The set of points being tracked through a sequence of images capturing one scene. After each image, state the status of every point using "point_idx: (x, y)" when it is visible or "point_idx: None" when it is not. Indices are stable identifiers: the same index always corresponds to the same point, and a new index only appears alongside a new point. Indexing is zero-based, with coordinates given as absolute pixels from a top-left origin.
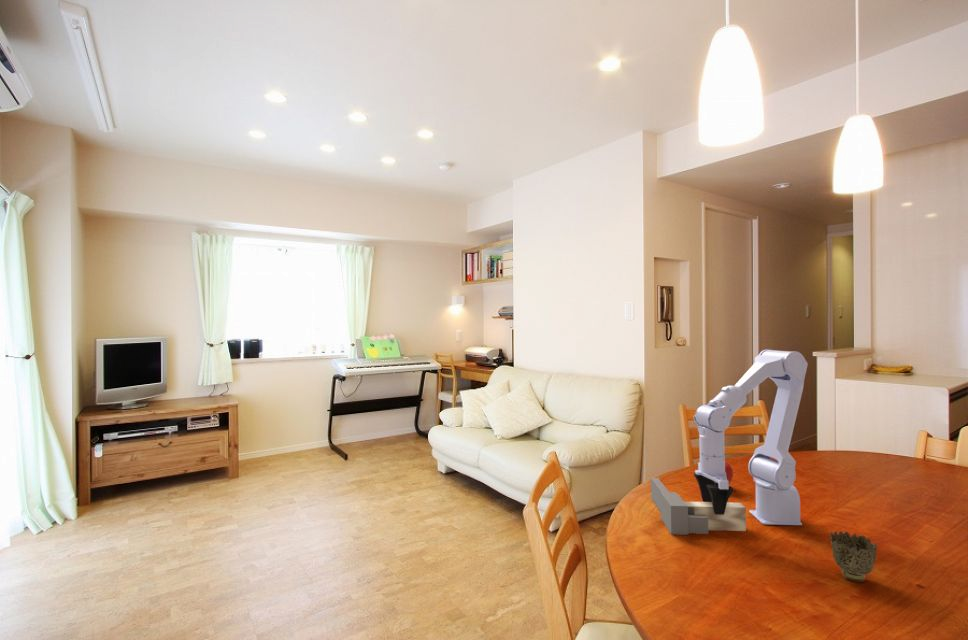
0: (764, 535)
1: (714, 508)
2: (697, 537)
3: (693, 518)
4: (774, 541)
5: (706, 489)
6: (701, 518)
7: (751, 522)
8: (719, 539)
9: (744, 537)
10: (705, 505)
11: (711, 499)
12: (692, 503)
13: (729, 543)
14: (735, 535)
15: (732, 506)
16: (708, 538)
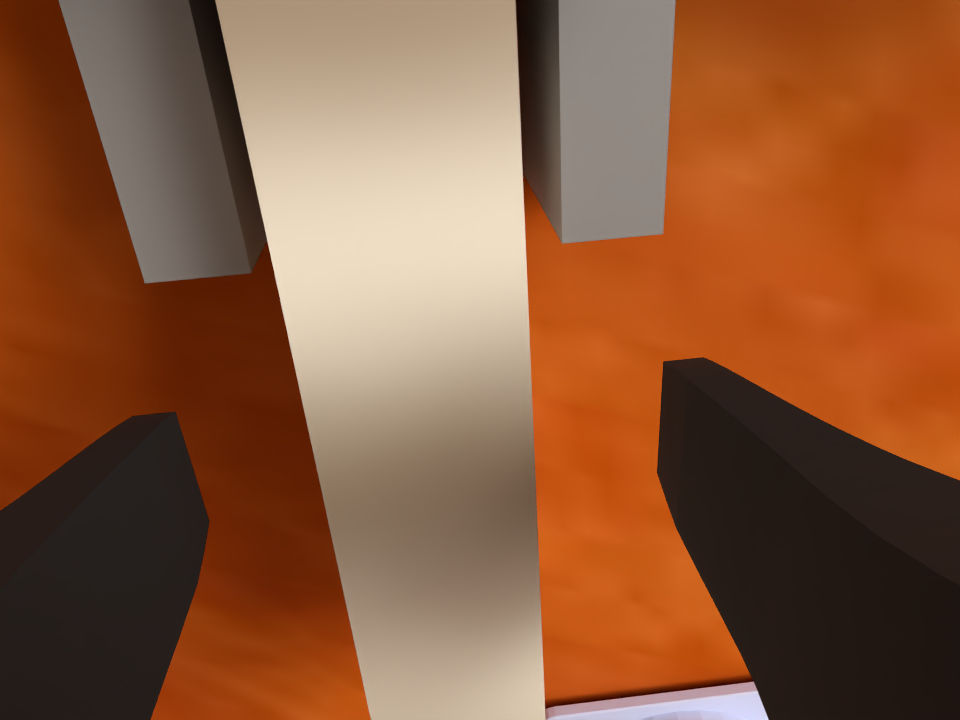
0: (327, 668)
1: (65, 468)
2: (45, 24)
3: (69, 15)
4: (223, 701)
5: (763, 556)
6: (121, 170)
7: (588, 642)
8: (92, 291)
9: (235, 527)
10: (350, 350)
11: (670, 497)
12: (417, 116)
13: (21, 368)
14: (259, 467)
15: (389, 688)
16: (70, 170)
